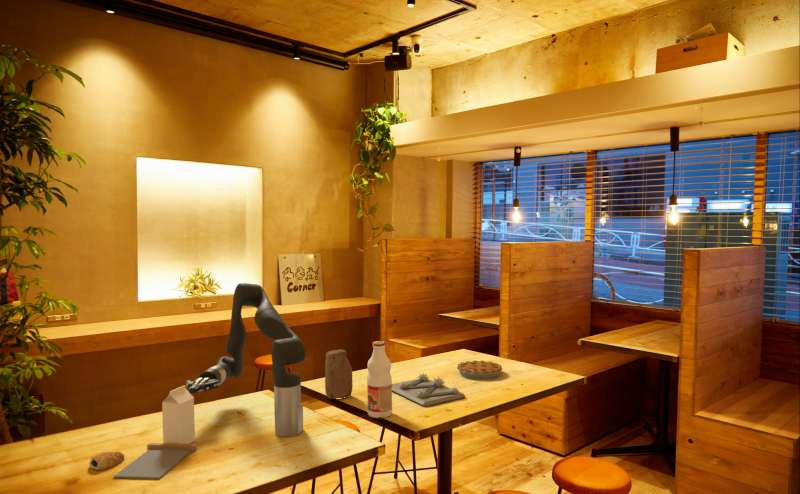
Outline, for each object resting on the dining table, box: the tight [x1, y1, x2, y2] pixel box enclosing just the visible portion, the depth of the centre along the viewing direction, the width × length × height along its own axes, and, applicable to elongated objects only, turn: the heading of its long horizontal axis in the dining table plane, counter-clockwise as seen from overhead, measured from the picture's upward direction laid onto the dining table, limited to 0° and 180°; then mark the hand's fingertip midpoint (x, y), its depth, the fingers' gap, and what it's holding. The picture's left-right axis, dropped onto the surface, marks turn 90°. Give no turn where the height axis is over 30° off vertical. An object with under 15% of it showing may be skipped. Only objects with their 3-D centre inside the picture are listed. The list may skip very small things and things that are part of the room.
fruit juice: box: [366, 340, 393, 419], centre depth 210 cm, size 9×9×28 cm
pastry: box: [89, 451, 125, 471], centre depth 170 cm, size 9×7×4 cm
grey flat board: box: [113, 442, 197, 480], centre depth 170 cm, size 16×21×2 cm
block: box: [324, 349, 353, 400], centre depth 232 cm, size 11×8×20 cm
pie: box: [456, 360, 503, 380], centre depth 266 cm, size 22×22×5 cm
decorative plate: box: [392, 372, 466, 408], centre depth 236 cm, size 30×22×7 cm
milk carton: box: [161, 385, 196, 444], centre depth 184 cm, size 7×7×19 cm
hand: (191, 391), depth 194 cm, fingers closed
